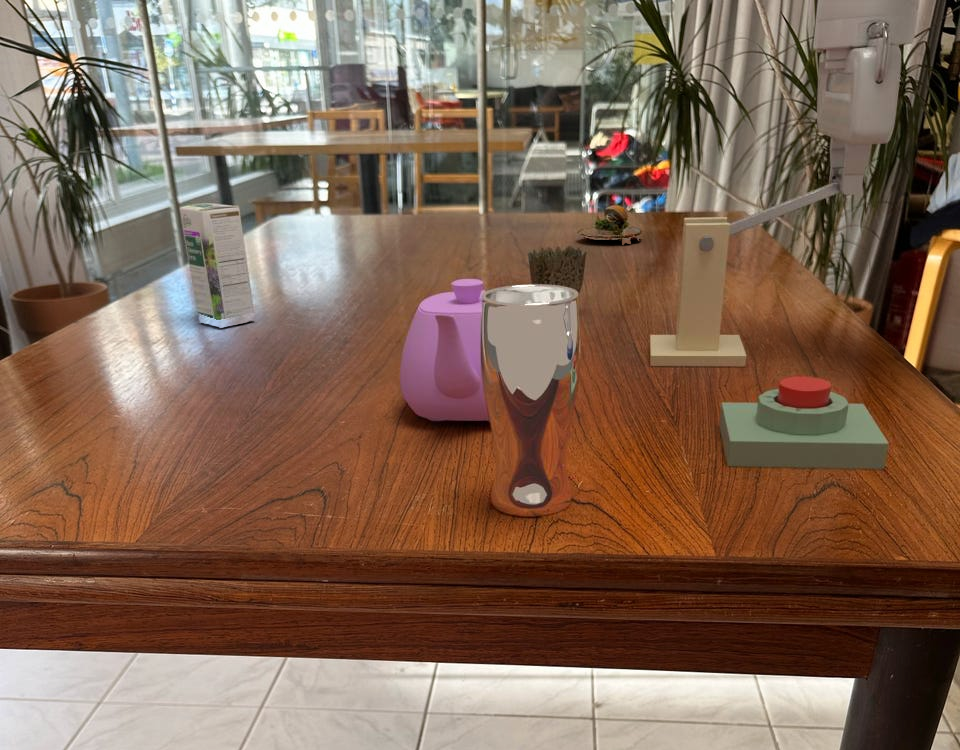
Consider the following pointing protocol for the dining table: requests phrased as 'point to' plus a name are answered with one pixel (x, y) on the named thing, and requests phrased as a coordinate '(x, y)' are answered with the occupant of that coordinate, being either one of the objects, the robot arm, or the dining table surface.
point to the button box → (801, 435)
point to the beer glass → (530, 393)
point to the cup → (558, 267)
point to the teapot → (446, 356)
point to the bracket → (700, 302)
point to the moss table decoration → (613, 223)
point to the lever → (786, 206)
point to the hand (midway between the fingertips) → (844, 190)
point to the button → (804, 392)
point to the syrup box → (217, 260)
